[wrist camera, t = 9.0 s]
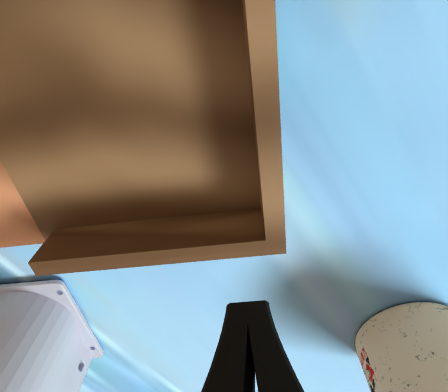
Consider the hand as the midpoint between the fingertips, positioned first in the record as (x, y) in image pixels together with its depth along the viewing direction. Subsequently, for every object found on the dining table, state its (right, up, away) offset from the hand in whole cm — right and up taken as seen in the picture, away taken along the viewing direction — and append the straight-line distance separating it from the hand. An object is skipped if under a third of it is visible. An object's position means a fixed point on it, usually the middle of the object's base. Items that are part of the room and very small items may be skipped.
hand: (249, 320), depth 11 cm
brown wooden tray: (-10, +8, +6) cm, 14 cm away
